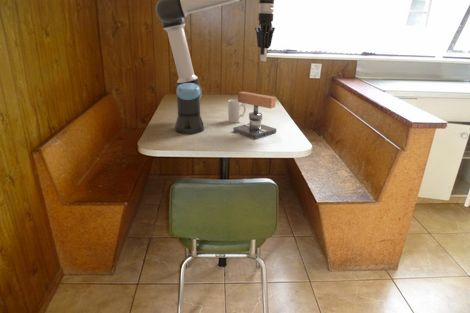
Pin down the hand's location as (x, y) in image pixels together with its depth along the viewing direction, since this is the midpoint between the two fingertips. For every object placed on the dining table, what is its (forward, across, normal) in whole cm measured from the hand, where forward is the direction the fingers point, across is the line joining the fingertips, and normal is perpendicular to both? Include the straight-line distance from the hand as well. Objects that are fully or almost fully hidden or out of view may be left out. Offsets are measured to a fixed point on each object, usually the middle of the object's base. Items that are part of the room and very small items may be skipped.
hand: (263, 60), depth 181 cm
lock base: (+34, -14, -9) cm, 38 cm away
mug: (+35, -8, +11) cm, 37 cm away
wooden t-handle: (+27, -14, -9) cm, 32 cm away
